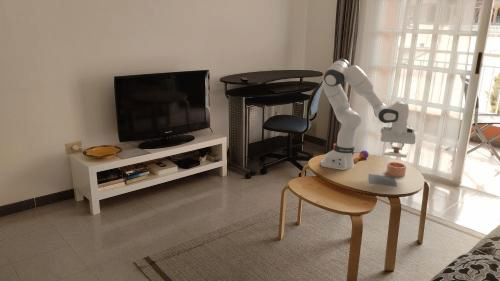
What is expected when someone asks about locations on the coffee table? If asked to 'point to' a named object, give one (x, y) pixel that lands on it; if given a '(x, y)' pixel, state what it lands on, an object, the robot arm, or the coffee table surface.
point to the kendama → (361, 156)
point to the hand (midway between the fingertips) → (396, 149)
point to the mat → (382, 180)
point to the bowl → (396, 169)
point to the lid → (396, 152)
